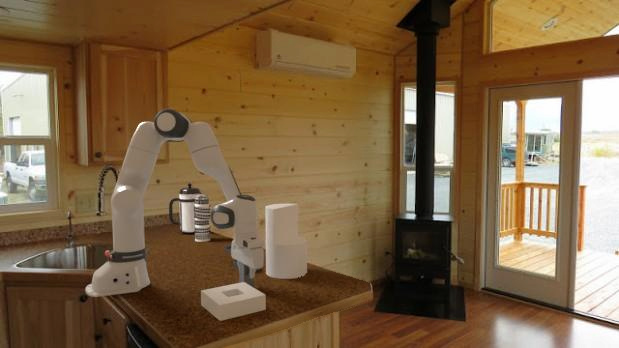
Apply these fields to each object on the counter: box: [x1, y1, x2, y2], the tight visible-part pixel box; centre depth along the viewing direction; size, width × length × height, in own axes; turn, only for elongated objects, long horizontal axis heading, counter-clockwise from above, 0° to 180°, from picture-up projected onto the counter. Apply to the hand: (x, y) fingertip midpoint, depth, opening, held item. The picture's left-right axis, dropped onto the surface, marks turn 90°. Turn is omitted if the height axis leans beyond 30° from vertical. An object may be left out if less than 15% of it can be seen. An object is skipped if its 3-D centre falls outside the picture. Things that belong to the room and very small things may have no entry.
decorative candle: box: [194, 194, 212, 243], centre depth 245 cm, size 9×9×25 cm
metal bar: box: [238, 262, 255, 288], centre depth 165 cm, size 4×4×10 cm
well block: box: [200, 282, 267, 322], centre depth 147 cm, size 16×16×5 cm
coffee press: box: [168, 182, 203, 236], centre depth 263 cm, size 17×16×30 cm
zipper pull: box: [221, 244, 261, 272], centre depth 197 cm, size 9×7×25 cm
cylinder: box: [264, 203, 308, 280], centre depth 185 cm, size 17×17×28 cm
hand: (246, 275), depth 165 cm, fingers open, 7 cm apart
